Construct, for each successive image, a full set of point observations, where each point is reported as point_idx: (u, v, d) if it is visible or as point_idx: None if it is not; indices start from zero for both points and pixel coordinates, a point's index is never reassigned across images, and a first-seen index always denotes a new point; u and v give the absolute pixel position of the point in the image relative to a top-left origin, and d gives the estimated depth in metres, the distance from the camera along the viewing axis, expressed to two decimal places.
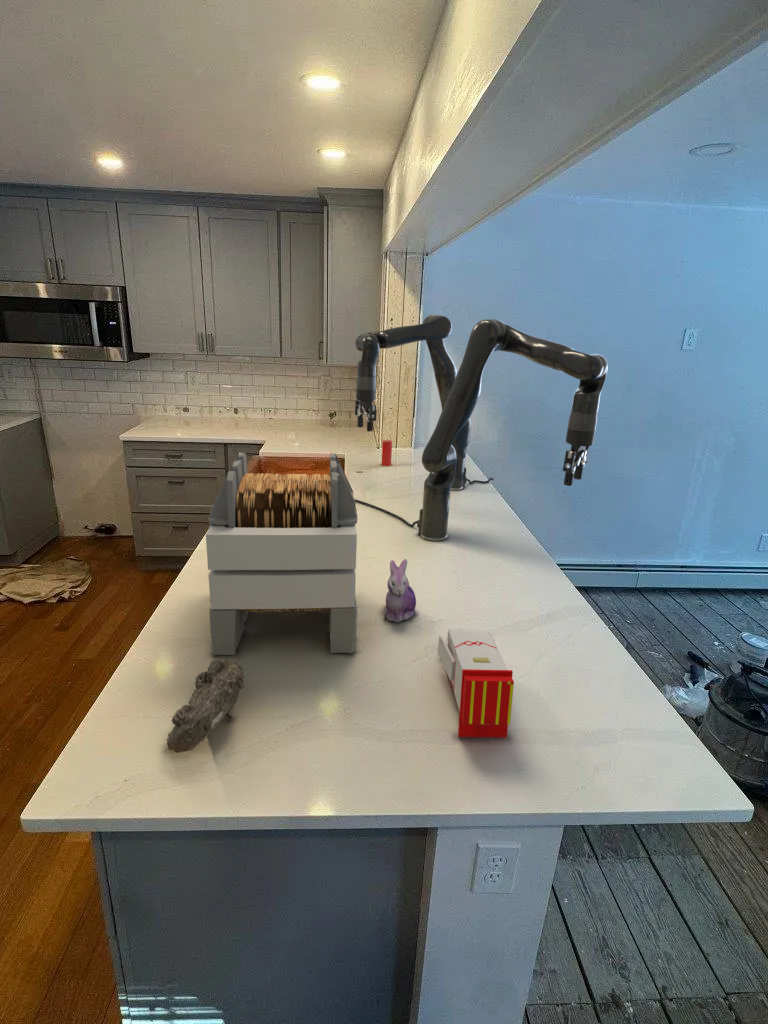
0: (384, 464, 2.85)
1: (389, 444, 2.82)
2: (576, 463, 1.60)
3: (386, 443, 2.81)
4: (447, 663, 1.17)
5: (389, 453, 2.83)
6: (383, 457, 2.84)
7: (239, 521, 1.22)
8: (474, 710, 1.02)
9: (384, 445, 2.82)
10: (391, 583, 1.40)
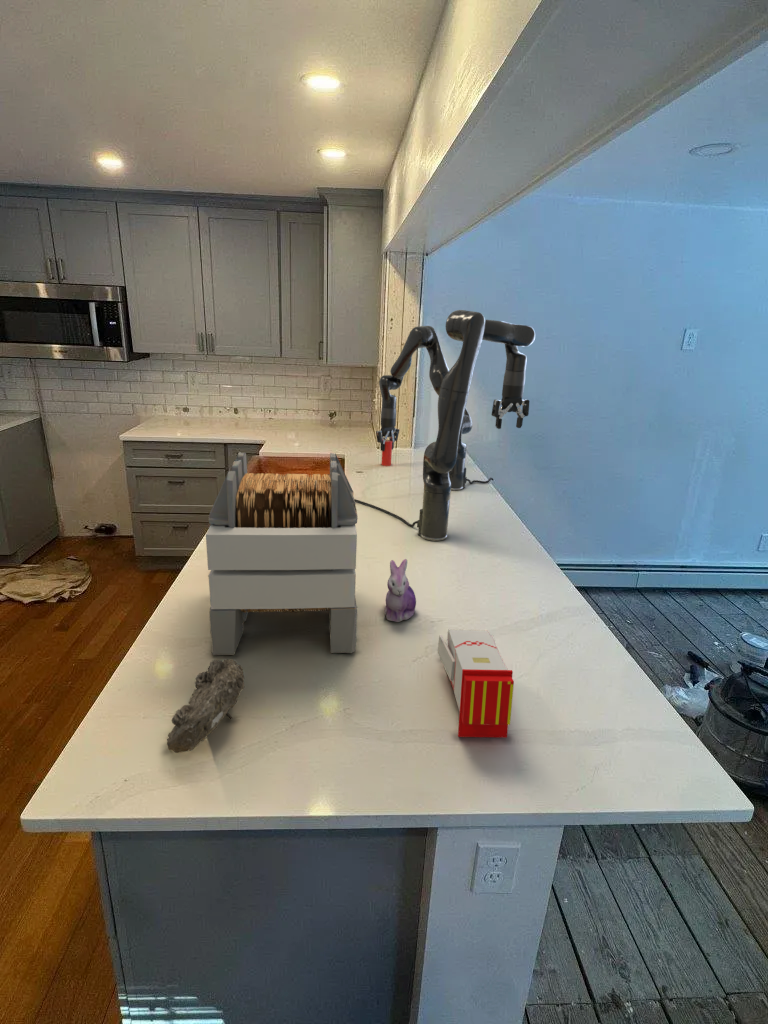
0: (384, 464, 2.85)
1: (389, 444, 2.82)
2: (503, 411, 2.04)
3: (386, 443, 2.81)
4: (447, 663, 1.17)
5: (389, 453, 2.83)
6: (383, 457, 2.84)
7: (239, 521, 1.22)
8: (474, 710, 1.02)
9: None
10: (391, 583, 1.40)
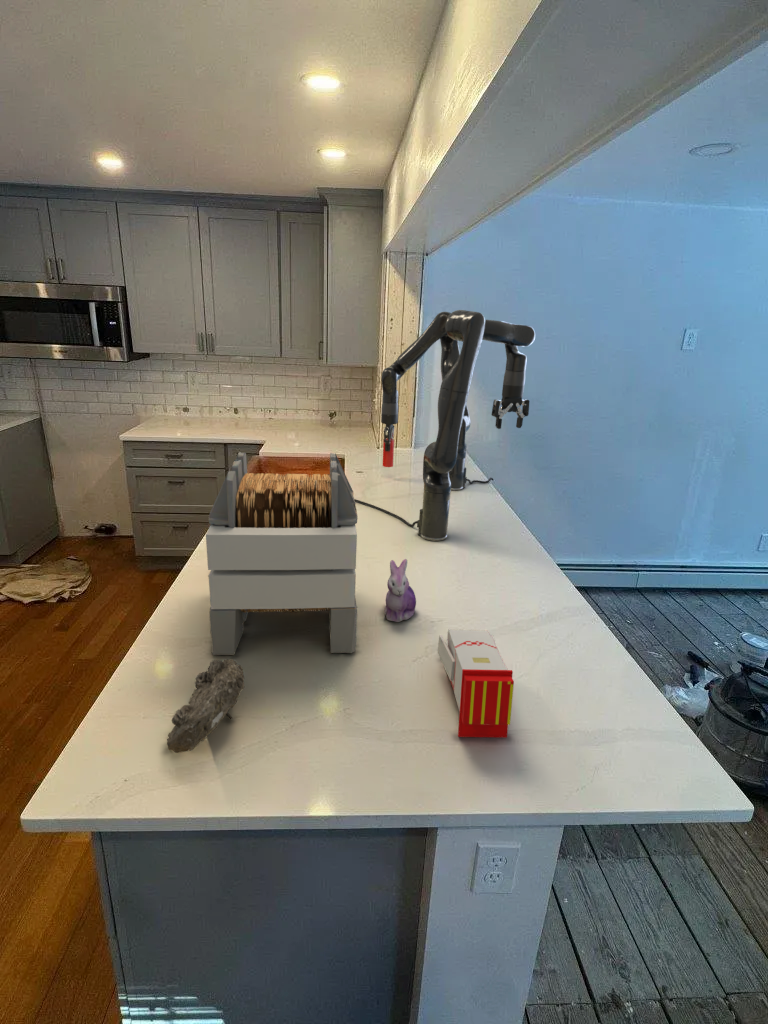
0: (389, 465, 2.59)
1: (393, 443, 2.57)
2: (503, 411, 2.04)
3: (391, 442, 2.55)
4: (447, 663, 1.17)
5: (393, 452, 2.58)
6: (387, 458, 2.57)
7: (239, 521, 1.22)
8: (474, 710, 1.02)
9: None
10: (391, 583, 1.40)
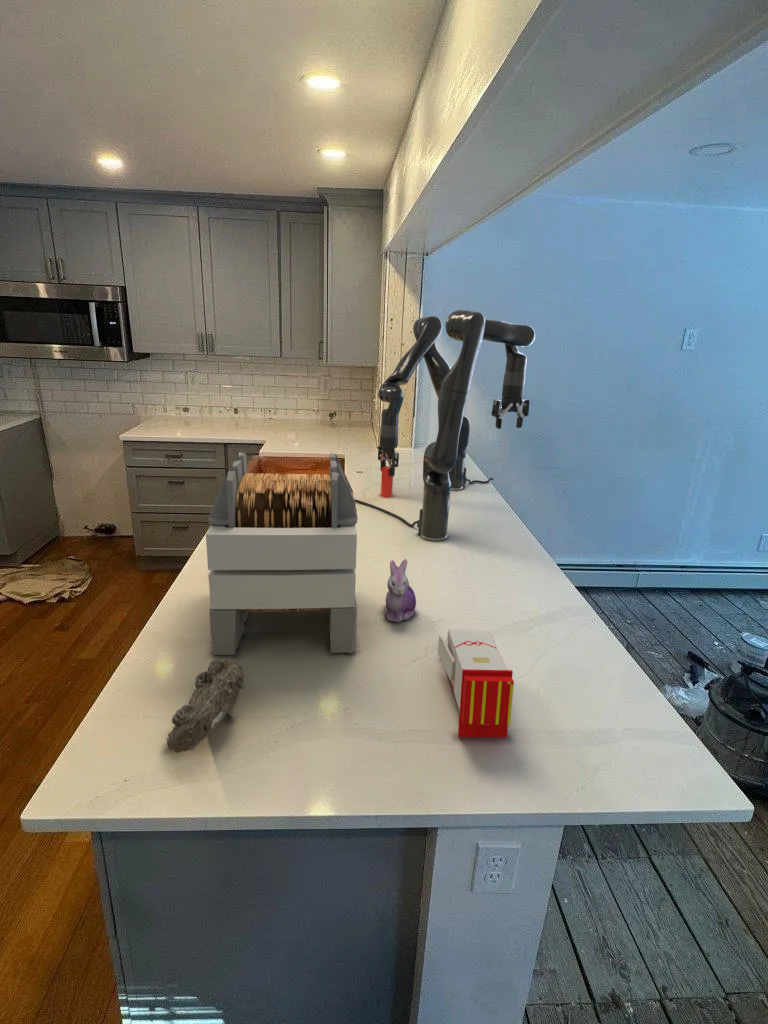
0: (391, 495, 2.39)
1: None
2: (503, 411, 2.04)
3: None
4: (447, 663, 1.17)
5: None
6: (390, 487, 2.37)
7: (239, 521, 1.22)
8: (474, 710, 1.02)
9: None
10: (391, 583, 1.40)
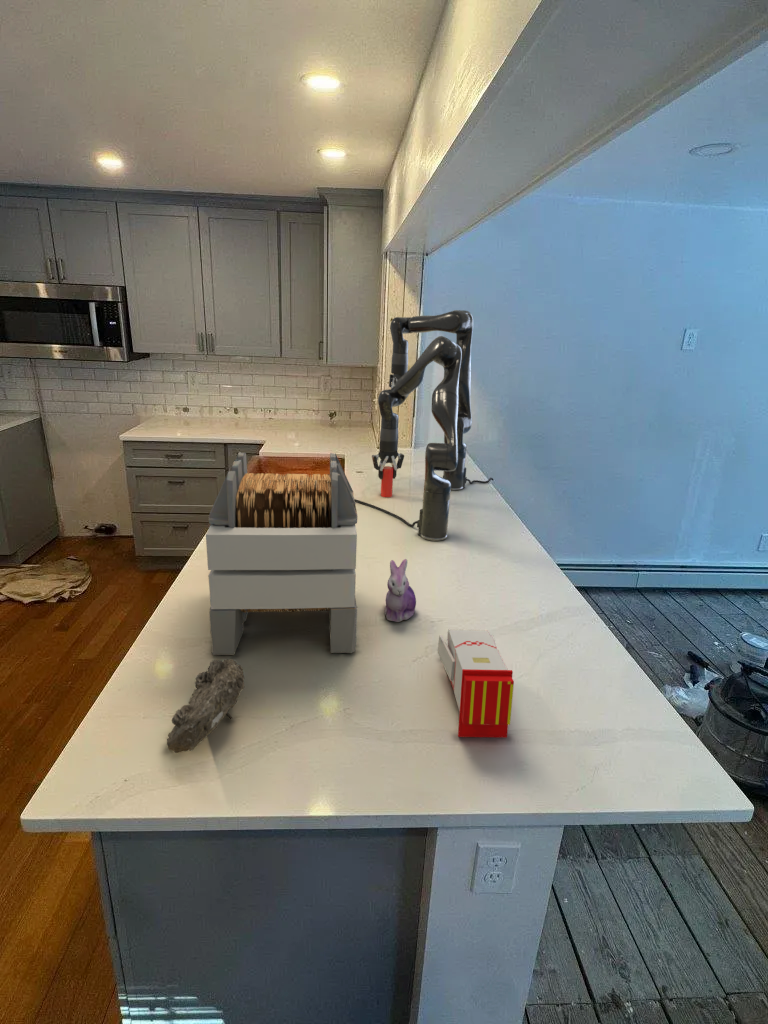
0: (391, 495, 2.39)
1: None
2: (382, 464, 2.33)
3: (392, 470, 2.35)
4: (447, 663, 1.17)
5: None
6: (390, 487, 2.37)
7: (239, 521, 1.22)
8: (474, 710, 1.02)
9: (391, 473, 2.35)
10: (391, 583, 1.40)
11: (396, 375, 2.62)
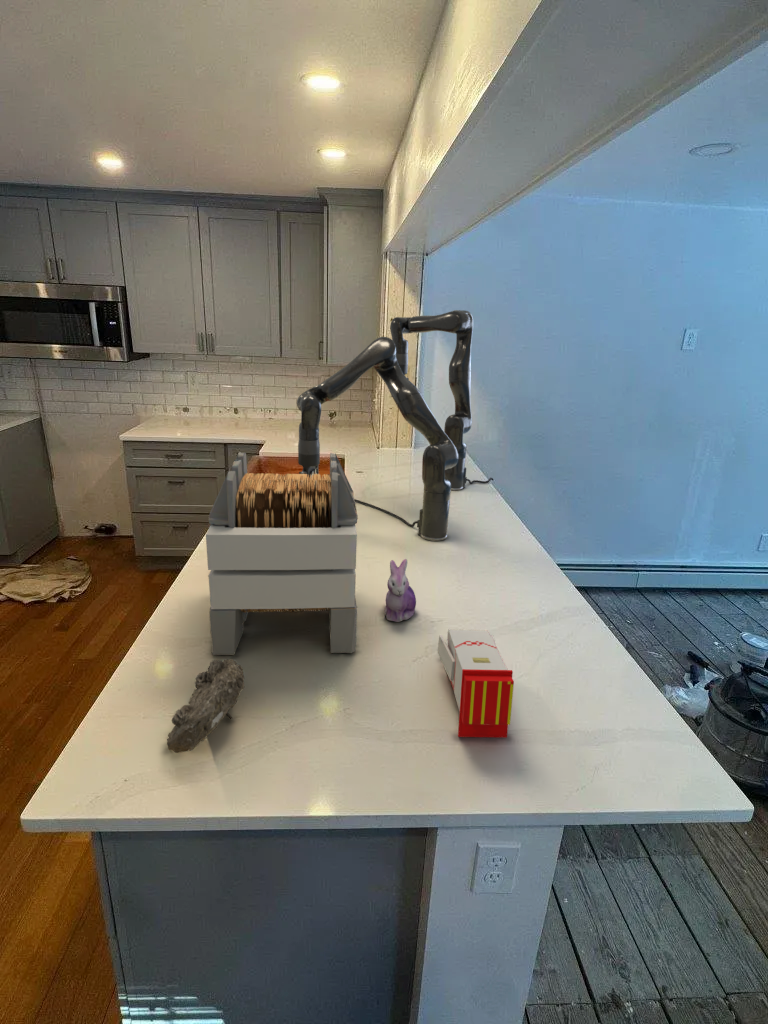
0: None
1: None
2: None
3: None
4: (447, 663, 1.17)
5: None
6: None
7: (239, 521, 1.22)
8: (474, 710, 1.02)
9: None
10: (391, 583, 1.40)
11: None
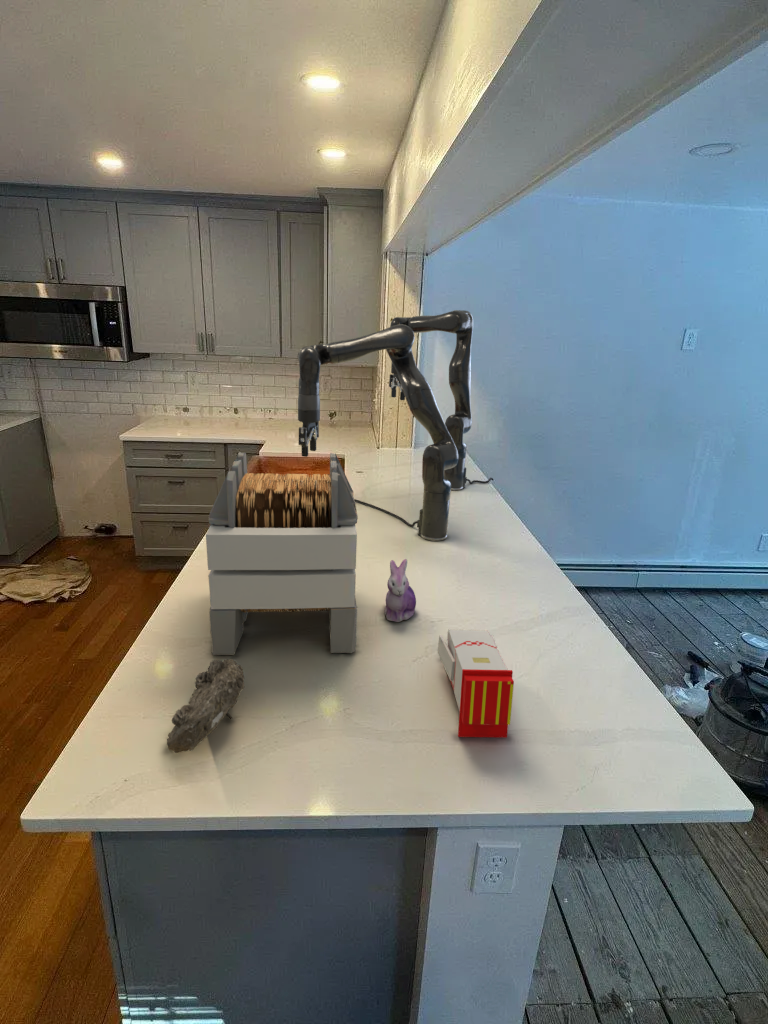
0: None
1: None
2: (308, 437, 1.93)
3: None
4: (447, 663, 1.17)
5: None
6: None
7: (239, 521, 1.22)
8: (474, 710, 1.02)
9: None
10: (391, 583, 1.40)
11: (396, 375, 2.62)
